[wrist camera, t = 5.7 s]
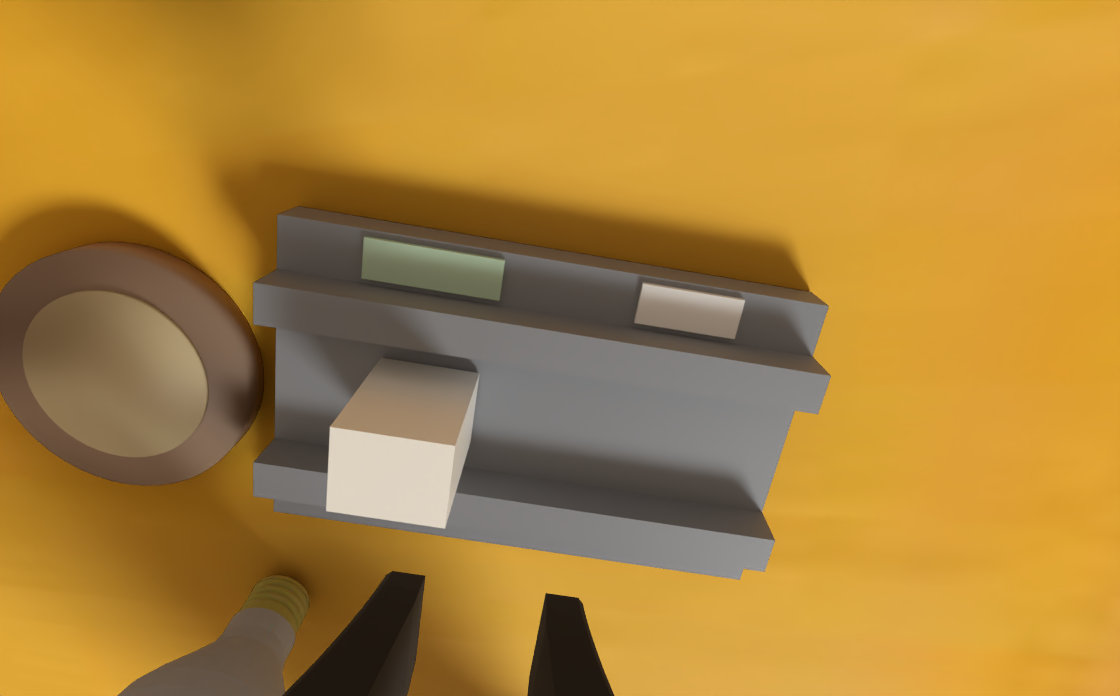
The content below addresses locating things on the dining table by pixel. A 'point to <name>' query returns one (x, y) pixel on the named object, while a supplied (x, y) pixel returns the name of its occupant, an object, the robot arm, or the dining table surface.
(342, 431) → the switch tab
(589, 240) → the dining table surface
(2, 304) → the lamp base
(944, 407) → the dining table surface
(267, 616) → the light bulb
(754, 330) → the switch board
